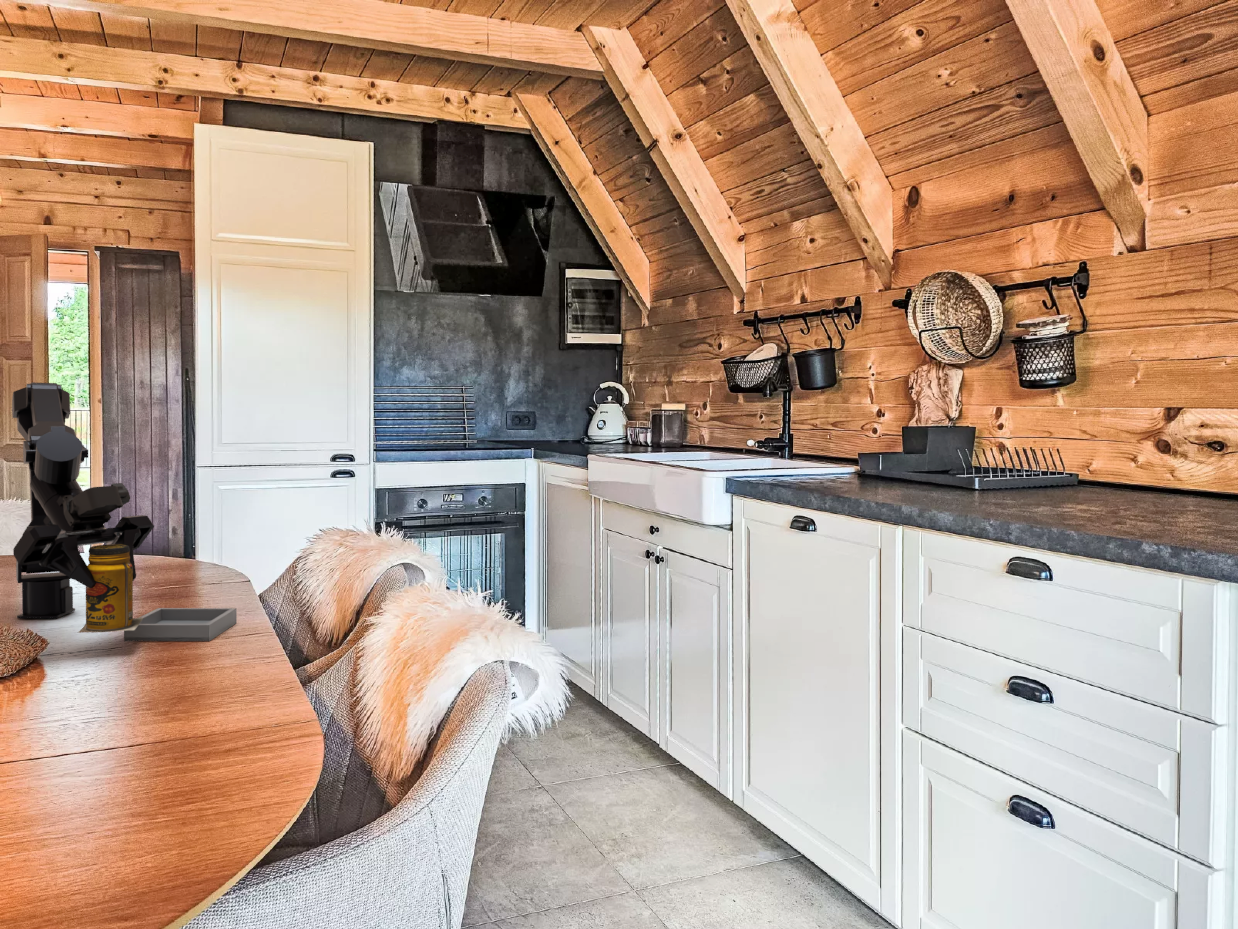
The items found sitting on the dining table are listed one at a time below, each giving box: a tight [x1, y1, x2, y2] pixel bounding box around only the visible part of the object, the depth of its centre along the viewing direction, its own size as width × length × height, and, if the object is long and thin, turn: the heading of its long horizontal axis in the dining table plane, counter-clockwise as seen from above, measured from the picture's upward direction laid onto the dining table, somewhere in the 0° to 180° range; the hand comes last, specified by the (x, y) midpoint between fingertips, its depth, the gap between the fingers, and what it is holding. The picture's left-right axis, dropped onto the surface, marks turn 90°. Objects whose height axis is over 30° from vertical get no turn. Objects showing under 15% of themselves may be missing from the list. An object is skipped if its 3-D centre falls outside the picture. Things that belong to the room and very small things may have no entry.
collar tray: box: [123, 607, 238, 642], centre depth 149 cm, size 13×13×2 cm
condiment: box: [77, 544, 144, 634], centre depth 136 cm, size 7×8×12 cm
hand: (113, 582), depth 135 cm, fingers closed on condiment, 6 cm apart
